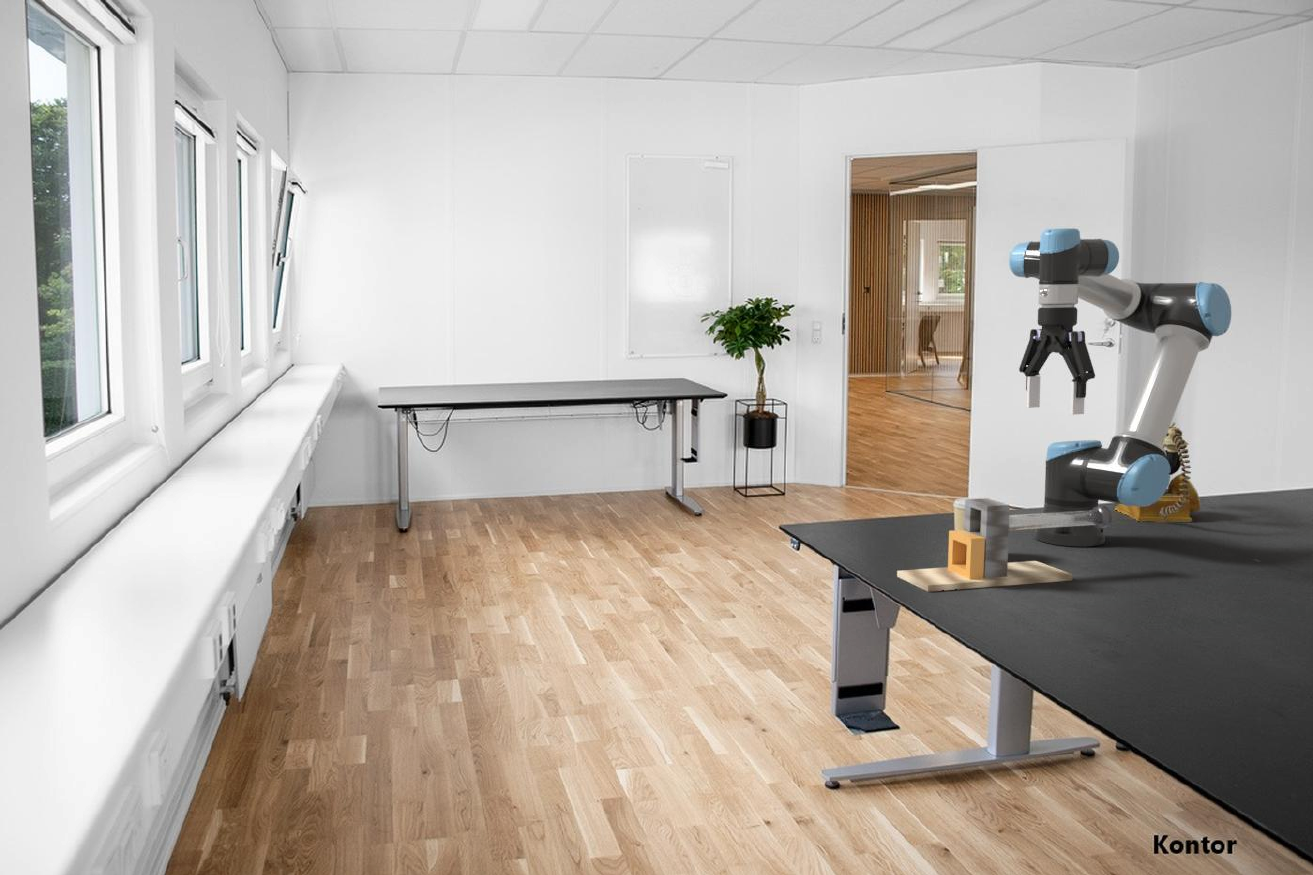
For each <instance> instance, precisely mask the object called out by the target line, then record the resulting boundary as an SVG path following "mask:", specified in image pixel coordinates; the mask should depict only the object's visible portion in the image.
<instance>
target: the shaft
mask: <svg viewBox="0 0 1313 875" xmlns="http://www.w3.org/2000/svg"><path fill="white" fill-rule="evenodd" d="M1112 518H1113V516H1112V513H1111V511H1110V509H1109V508H1108V507H1107V506H1104V505H1101V506H1099V505H1098V507H1094V508H1093V509H1092V510H1088V511H1071V512H1054V513H1041V512H1039V513H1024V514H1023V513H1022V514H1009V531H1020V530H1034V529H1038V528H1054V527H1070V526H1086V525H1094V526H1095V527H1096V528H1103V529H1105V528H1108V527H1109V526H1111V523H1112Z"/></svg>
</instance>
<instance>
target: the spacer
mask: <svg viewBox="0 0 1313 875" xmlns="http://www.w3.org/2000/svg"><path fill="white" fill-rule="evenodd" d="M966 545H967V550H966ZM984 548H985V538H983V537H981V536H978V535H975V534H972V533H970V532H967V531H964V530H955V529H953V530H949V531H948V555H947V556H948V558H947V567H948V570H949V571H952V572H954V573H956V574H958V575H961V576H963V577H965V578H968V579H982V578H983V573H984ZM965 559H966V563H965Z"/></svg>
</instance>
